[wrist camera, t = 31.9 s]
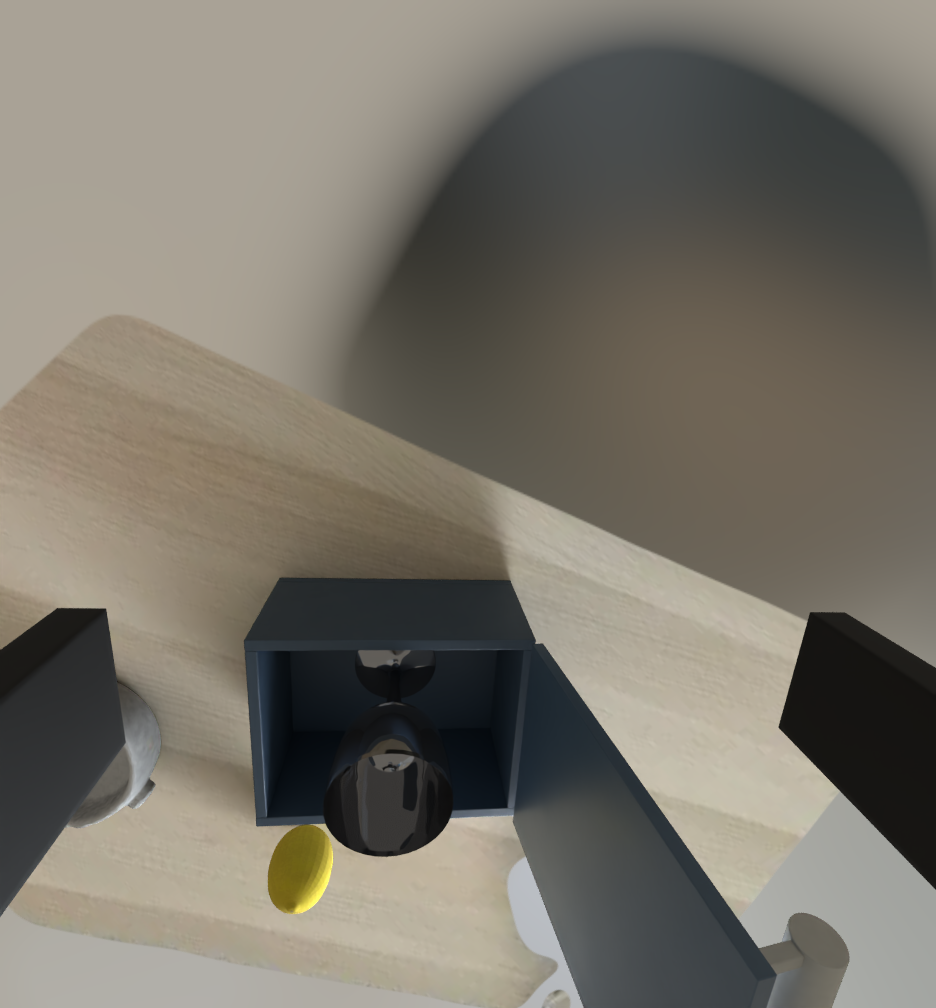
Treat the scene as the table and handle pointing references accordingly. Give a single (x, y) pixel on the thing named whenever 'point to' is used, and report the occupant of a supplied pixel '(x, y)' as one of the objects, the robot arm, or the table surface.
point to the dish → (125, 765)
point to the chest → (341, 697)
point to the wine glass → (390, 763)
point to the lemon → (300, 869)
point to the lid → (641, 880)
